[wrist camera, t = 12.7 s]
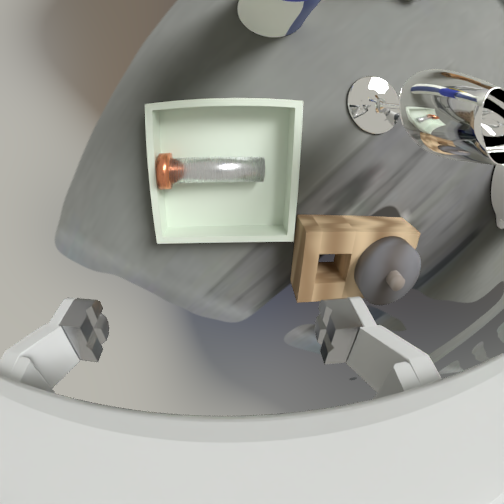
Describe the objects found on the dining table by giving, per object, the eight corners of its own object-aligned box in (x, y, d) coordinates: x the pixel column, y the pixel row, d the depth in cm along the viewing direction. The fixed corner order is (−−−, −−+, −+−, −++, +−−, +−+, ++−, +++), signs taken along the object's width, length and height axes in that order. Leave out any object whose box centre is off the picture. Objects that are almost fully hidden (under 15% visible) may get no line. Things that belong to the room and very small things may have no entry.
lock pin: (265, 190, 28) (157, 192, 27) (259, 184, 32) (164, 186, 31) (266, 152, 27) (155, 154, 25) (260, 150, 30) (163, 152, 29)
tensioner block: (402, 217, 36) (437, 247, 28) (386, 275, 41) (412, 311, 33) (296, 214, 35) (316, 249, 27) (290, 280, 39) (303, 323, 32)
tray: (295, 101, 28) (303, 100, 25) (288, 228, 35) (293, 241, 32) (153, 104, 27) (144, 104, 24) (163, 230, 34) (157, 243, 31)
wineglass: (409, 114, 28) (533, 147, 11) (370, 146, 30) (488, 203, 13) (377, 64, 25) (504, 54, 8) (333, 96, 27) (452, 99, 10)
